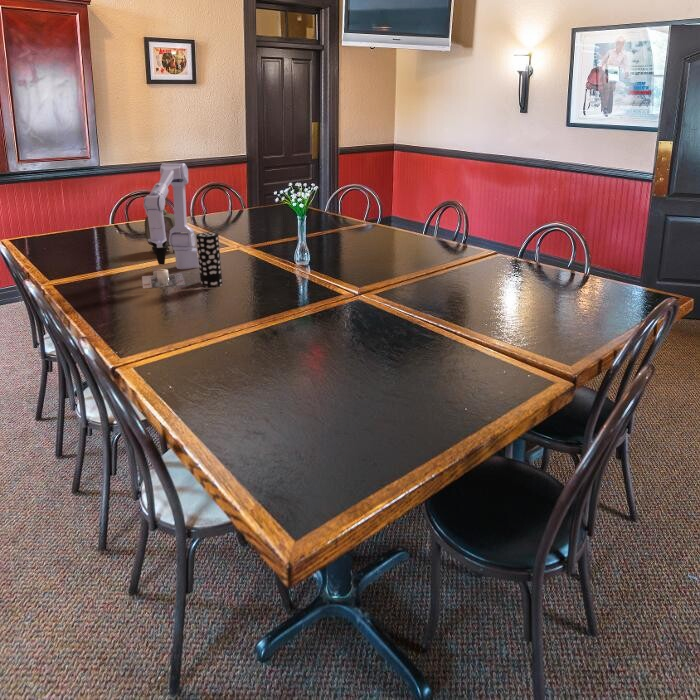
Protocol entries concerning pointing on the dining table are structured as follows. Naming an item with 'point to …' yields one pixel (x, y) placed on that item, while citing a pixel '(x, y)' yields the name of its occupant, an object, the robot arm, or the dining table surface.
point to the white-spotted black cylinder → (209, 259)
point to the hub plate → (153, 282)
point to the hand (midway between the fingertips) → (161, 262)
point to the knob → (162, 276)
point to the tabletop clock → (169, 224)
